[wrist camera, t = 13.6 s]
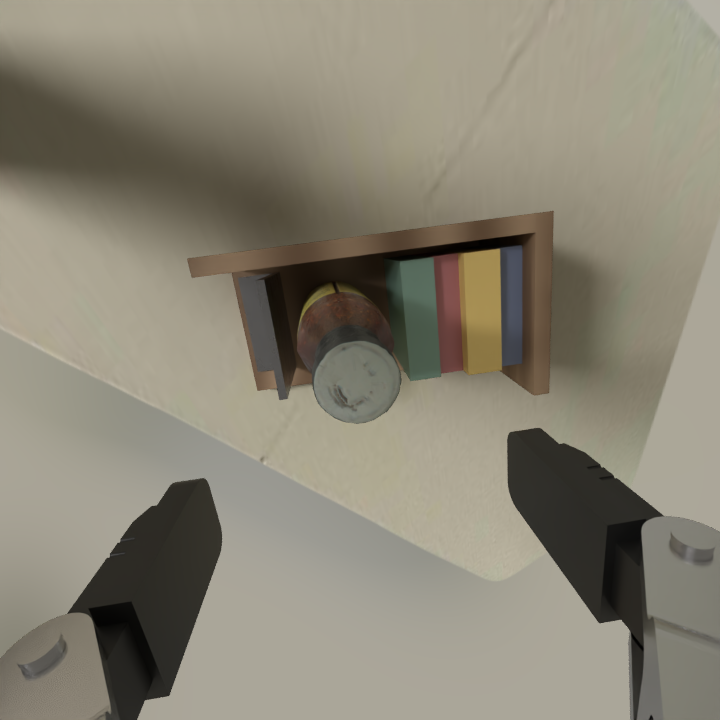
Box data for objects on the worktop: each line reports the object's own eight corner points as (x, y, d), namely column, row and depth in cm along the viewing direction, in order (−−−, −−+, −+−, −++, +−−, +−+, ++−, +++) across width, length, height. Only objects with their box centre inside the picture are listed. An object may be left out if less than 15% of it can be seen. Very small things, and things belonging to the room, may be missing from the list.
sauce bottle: (305, 346, 36) (278, 454, 17) (300, 280, 35) (264, 321, 16) (373, 343, 37) (418, 444, 18) (371, 277, 35) (420, 313, 16)
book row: (393, 352, 37) (412, 383, 29) (383, 258, 35) (401, 261, 26) (482, 339, 38) (527, 366, 29) (479, 245, 35) (528, 244, 26)
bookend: (258, 371, 37) (238, 406, 29) (238, 277, 34) (209, 286, 26) (296, 365, 37) (287, 398, 29) (279, 272, 34) (264, 279, 26)
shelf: (260, 385, 39) (232, 440, 28) (232, 255, 35) (187, 258, 24) (488, 352, 40) (549, 393, 29) (484, 222, 36) (553, 211, 25)
